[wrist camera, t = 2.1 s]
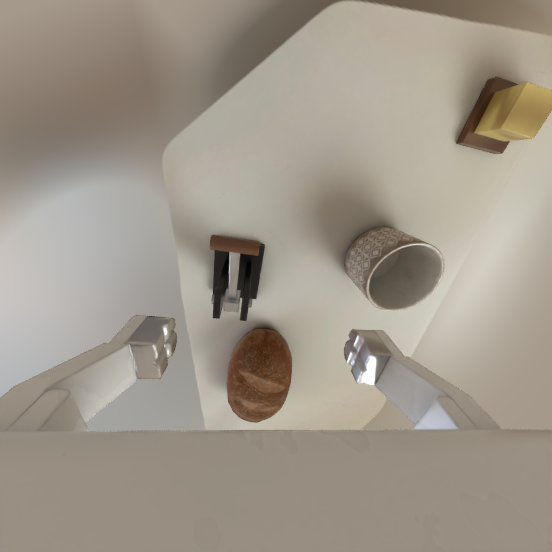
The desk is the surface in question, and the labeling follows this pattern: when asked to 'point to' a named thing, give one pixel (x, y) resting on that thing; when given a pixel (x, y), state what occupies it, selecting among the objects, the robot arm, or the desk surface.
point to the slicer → (246, 280)
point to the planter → (393, 268)
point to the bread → (259, 375)
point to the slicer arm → (233, 264)
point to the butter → (506, 115)
